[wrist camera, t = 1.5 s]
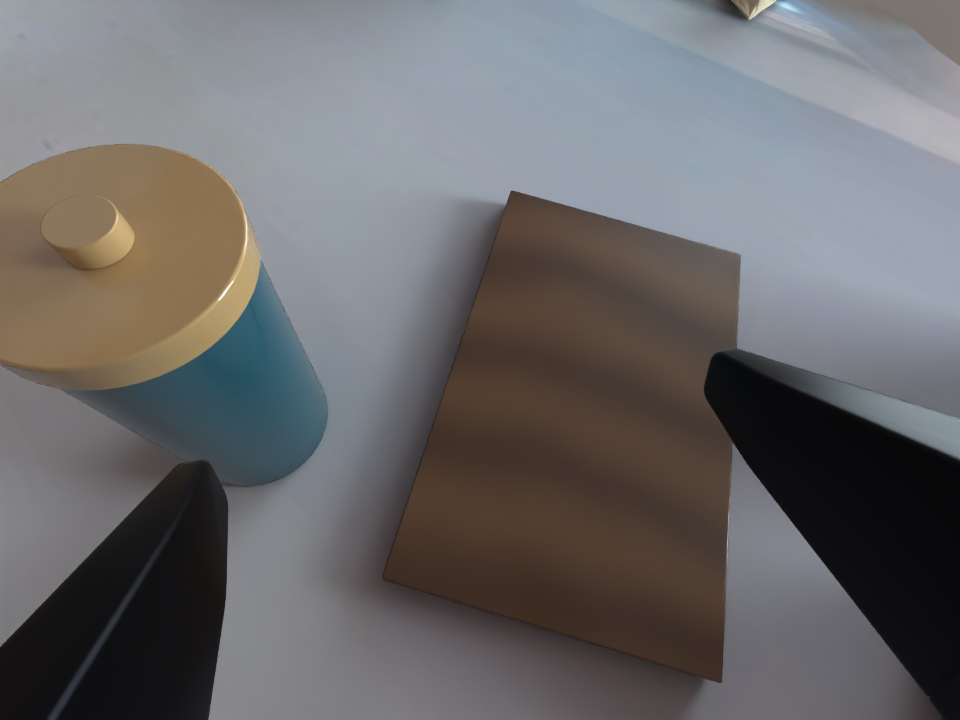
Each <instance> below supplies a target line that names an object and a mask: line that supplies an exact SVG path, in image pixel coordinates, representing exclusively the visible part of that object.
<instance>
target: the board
mask: <svg viewBox="0 0 960 720" xmlns="http://www.w3.org/2000/svg"><path fill="white" fill-rule="evenodd" d="M740 262H741V254H738V253H735V252H731V251H727V250H724V249H720V248H717V247H713V246H709V245H706V244H702V243H699V242H695V241H692V240H688V239H684V238H681V237H677V236H674V235H670V234H666V233H663V232H659V231H656V230H652V229H649V228H645V227H641V226H638V225H634V224H631V223H627V222H623V221H620V220H616V219H613V218H609V217H606V216H602V215H598V214H595V213H591V212H588V211H584V210H580V209H577V208H573V207H570V206H566V205H563V204H559V203H555V202H552V201H548V200H545V199H541V198H537V197H534V196H530V195H527V194H523V193H520V192H516V191H511V192H510V195H509V198H508V201H507V204H506V207H505V210H504V213H503V216H502V219H501V222H500V225H499V228H498V231H497V234H496V237H495V240H494V243H493V246H492V249H491V252H490V255H489V258H488V261H487V264H486V267H485V270H484V273H483V275H482V278H481V281H480V284H479V287H478V290H477V293H476V296H475V299H474V302H473V305H472V308H471V311H470V314H469V317H468V320H467V323H466V326H465V329H464V332H463V335H462V338H461V341H460V344H459V347H458V350H457V353H456V356H455V359H454V362H453V365H452V368H451V371H450V374H449V377H448V380H447V383H446V386H445V389H444V392H443V395H442V398H441V401H440V404H439V407H438V410H437V413H436V416H435V419H434V422H433V425H432V428H431V431H430V434H429V437H428V440H427V443H426V446H425V449H424V452H423V455H422V458H421V461H420V464H419V467H418V469H417V472H416V475H415V478H414V481H413V484H412V487H411V490H410V493H409V496H408V499H407V502H406V505H405V508H404V511H403V514H402V517H401V520H400V523H399V526H398V529H397V532H396V535H395V538H394V541H393V544H392V547H391V550H390V553H389V556H388V559H387V562H386V565H385V568H384V571H383V574H382V579H383V580H385V581H389V582H392V583H395V584H398V585H402V586H405V587H408V588H411V589H415V590H418V591H421V592H424V593H428V594H431V595H434V596H437V597H441V598H444V599H447V600H450V601H454V602H457V603H460V604H463V605H467V606H470V607H473V608H476V609H480V610H483V611H486V612H489V613H493V614H496V615H499V616H502V617H506V618H509V619H512V620H515V621H519V622H522V623H525V624H528V625H532V626H535V627H538V628H541V629H545V630H548V631H551V632H554V633H558V634H561V635H564V636H567V637H571V638H574V639H577V640H580V641H584V642H587V643H590V644H593V645H597V646H600V647H603V648H606V649H610V650H613V651H616V652H619V653H623V654H626V655H629V656H632V657H636V658H639V659H642V660H645V661H649V662H652V663H655V664H658V665H662V666H665V667H668V668H671V669H675V670H678V671H681V672H684V673H688V674H691V675H694V676H697V677H701V678H704V679H707V680H711V681H715V682H718V683H721V682H722V668H723V645H724V623H725V600H726V578H727V555H728V533H729V510H730V488H731V465H732V443H733V441H732V440H731V438H730V436H729V435H728V433H727V432H726V430H725V428H724V427H723V425H722V424H721V422H720V420H719V419H718V417H717V416H716V414H715V412H714V411H713V409H712V408H711V406H710V405H709V403H708V401H707V400H706V397H705V395H704V383H705V379H706V375H707V371H708V368H709V364H710V360H711V357H712V356H713V355H714V353H716V352H719V351H723V350H728V349H737V330H738V307H739V285H740Z"/></svg>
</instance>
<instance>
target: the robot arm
mask: <svg viewBox="0 0 960 720" xmlns="http://www.w3.org/2000/svg"><path fill="white" fill-rule="evenodd" d="M704 395H705V397H706V400H707V401H708V403H709V405H710V406H711V408H712V409H713V411H714V412H715V414H716V416H717V417H718V419H719V420H720V422H721V424H722V425H723V427H724V428H725V430H726V432H727V433H728V435H729V436H730V438H731V440H732V441H733V443H734V444H735V446H736V448H737V449H738V451H739V452H740V454H741V455H742V457H743V458H744V460H745V461H746V463H747V464H748V466H749V467H750V468H751V470H752V471H753V472H754V474H755V475H756V476H757V478H758V479H759V480H760V482H761V483H762V484H763V485H764V487H765V488H766V489H767V491H768V492H769V493H770V494H771V496H772V497H773V498H774V500H775V501H776V502H777V503H778V505H779V506H780V507H781V509H782V510H783V511H784V512H785V514H786V515H787V516H788V518H789V519H790V520H791V521H792V523H793V524H794V525H795V527H796V528H797V529H798V531H799V532H800V533H801V534H802V536H803V537H804V538H805V540H806V541H807V542H808V543H809V545H810V546H811V547H812V549H813V550H814V551H815V552H816V554H817V555H818V556H819V558H820V559H821V560H822V561H823V563H824V564H825V565H826V567H827V568H828V569H829V571H830V572H831V573H832V574H833V576H834V577H835V578H836V580H837V581H838V582H839V583H840V585H841V586H842V587H843V589H844V590H845V591H846V592H847V594H848V595H849V596H850V598H851V599H852V600H853V601H854V603H855V604H856V605H857V607H858V608H859V609H860V611H861V612H862V613H863V614H864V616H865V617H866V618H867V620H868V621H869V622H870V623H871V625H872V626H873V627H874V629H875V630H876V631H877V632H878V634H879V635H880V636H881V638H882V639H883V640H884V641H885V643H886V644H887V645H888V647H889V648H890V649H891V651H892V652H893V653H894V654H895V656H896V657H897V658H898V660H899V661H900V662H901V663H902V665H903V666H904V667H905V669H906V670H907V671H908V672H909V674H910V675H911V676H912V678H913V679H914V680H915V681H916V683H917V684H918V685H919V687H920V688H921V689H922V690H923V692H924V693H925V694H926V695H927V696H928V697H929V700H930V701H931V703H932V704H933V705H934V707H935V708H936V709H937V710H938V712H939V713H940V714H941V716H942V717H943V718H944V719H945V720H960V418H958V417H954V416H951V415H948V414H945V413H942V412H938V411H935V410H932V409H929V408H926V407H922V406H919V405H916V404H913V403H910V402H906V401H903V400H900V399H897V398H894V397H890V396H887V395H884V394H881V393H877V392H874V391H871V390H868V389H865V388H861V387H858V386H855V385H852V384H849V383H845V382H842V381H839V380H836V379H833V378H829V377H826V376H823V375H820V374H817V373H813V372H810V371H807V370H804V369H801V368H797V367H794V366H791V365H788V364H784V363H781V362H778V361H775V360H772V359H768V358H765V357H762V356H759V355H756V354H752V353H749V352H746V351H743V350H740V349H728V350H723V351H719V352H716V353H714V355H713V356H712V357H711V360H710V364H709V368H708V371H707V375H706V379H705V383H704ZM227 542H228V501H227V496H226V493H225V491H224V489H223V487H222V485H221V483H220V481H219V479H218V477H217V475H216V473H215V471H214V469H213V467H212V465H211V463H210V462H209V461H208V460H205V459H200V460H195V461H191V462H186V463H182V464H179V465H177V466H176V467H175V468H173V470H172V471H171V472H170V473H169V474H168V475H167V476H166V477H165V478H164V479H163V480H162V481H161V482H160V483H159V484H158V485H157V486H156V487H155V488H154V489H153V490H152V491H151V492H150V493H149V494H148V495H147V496H146V497H145V498H144V499H143V500H142V501H141V503H140V504H139V505H138V506H137V507H136V508H135V509H134V510H133V511H132V512H131V513H130V514H129V515H128V516H127V517H126V518H125V519H124V520H123V521H122V522H121V523H120V524H119V525H118V526H117V527H116V528H115V529H114V530H113V531H112V532H111V533H110V534H109V536H108V537H107V538H106V539H105V540H104V541H103V542H102V543H101V544H100V545H99V546H98V547H97V548H96V549H95V550H94V551H93V552H92V553H91V554H90V555H89V556H88V557H87V558H86V559H85V560H84V561H83V562H82V563H81V564H80V565H79V566H78V567H77V569H76V570H75V571H74V572H73V573H72V574H71V575H70V576H69V577H68V578H67V579H66V580H65V581H64V582H63V583H62V584H61V585H60V586H59V587H58V588H57V589H56V590H55V591H54V592H53V593H52V594H51V595H50V596H49V597H48V598H47V599H46V601H45V602H44V603H43V604H42V605H41V606H40V607H39V608H38V609H37V610H36V611H35V612H34V613H33V614H32V615H31V616H30V617H29V618H28V619H27V620H26V621H25V622H24V623H23V624H22V625H21V626H20V627H19V628H18V629H17V630H16V631H15V632H14V634H13V635H12V636H11V637H10V638H9V639H8V640H7V641H6V642H5V643H4V644H3V645H2V646H1V647H0V720H208V718H209V712H210V705H211V698H212V691H213V684H214V678H215V671H216V664H217V657H218V651H219V644H220V637H221V630H222V623H223V617H224V609H225V600H226V584H227Z"/></svg>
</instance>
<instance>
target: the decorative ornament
mask: <svg viewBox="0 0 960 720" xmlns="http://www.w3.org/2000/svg"><path fill="white" fill-rule="evenodd" d="M731 1H732V2H733V3H734V4H735V5H736V6H737V7H738V8H739V10H740V11H741V12H742V13H743V14H744V15H745V16H746V18H747V19H748V20H750V19H752V18H753V17H754V16H756V15H757V14H758V13H760V12H761V11H763V10H764V9H765V8H767V7H768V6H770V5H771V4H773V3H774V2H776V1H778V0H731Z"/></svg>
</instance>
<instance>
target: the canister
mask: <svg viewBox="0 0 960 720" xmlns="http://www.w3.org/2000/svg"><path fill="white" fill-rule="evenodd" d="M0 366H2V367H3V368H5V369H7V370H9V371H10V372H12V373H14V374H16V375H18V376H19V377H21V378H24V379H26V380H29V381H32V382H34V383H37V384H40V385H44V386H49V387H53V388H57V389H60V390H62V391H64V392H65V393H67V394H69V395H70V396H72V397H74V398H76V399H77V400H79V401H81V402H82V403H84V404H86V405H87V406H89V407H91V408H93V409H94V410H96V411H98V412H99V413H101V414H103V415H105V416H106V417H108V418H110V419H111V420H113V421H115V422H117V423H118V424H120V425H122V426H123V427H125V428H127V429H128V430H130V431H132V432H134V433H135V434H137V435H139V436H140V437H142V438H144V439H146V440H147V441H149V442H151V443H152V444H154V445H156V446H158V447H159V448H161V449H163V450H164V451H166V452H168V453H170V454H171V455H173V456H175V457H176V458H178V459H180V460H181V461H183V462H185V463H186V462H191V461H195V460H200V459H205V460H208V461H209V462H210V463H211V465H212V467H213V469H214V471H215V473H216V475H217V477H218V479H219V481H220V482H221V483H224V484H228V485H233V486H257V485H263V484H266V483H270V482H273V481H275V480H278V479H280V478H282V477H284V476H286V475H288V474H290V473H291V472H293V471H294V470H295V469H297V468H298V467H300V466H301V465H302V464H303V463H304V462H305V461H306V460H307V459H308V458H309V457H310V456H311V454H312V453H313V452H314V450H315V449H316V447H317V446H318V444H319V442H320V440H321V439H322V436H323V434H324V431H325V428H326V423H327V416H328V407H327V400H326V396H325V393H324V390H323V388H322V386H321V384H320V382H319V380H318V378H317V375H316V373H315V371H314V369H313V367H312V365H311V363H310V361H309V359H308V357H307V355H306V353H305V350H304V348H303V346H302V344H301V342H300V340H299V338H298V336H297V334H296V332H295V330H294V328H293V325H292V323H291V321H290V319H289V317H288V315H287V313H286V311H285V309H284V307H283V305H282V303H281V300H280V298H279V296H278V294H277V292H276V290H275V288H274V286H273V284H272V282H271V280H270V278H269V276H268V273H267V271H266V269H265V267H264V265H263V263H262V261H261V259H260V248H259V242H258V238H257V235H256V232H255V230H254V227H253V225H252V223H251V221H250V218H249V216H248V214H247V212H246V210H245V207H244V205H243V203H242V201H241V199H240V198H239V196H238V194H237V192H236V191H235V189H234V188H233V187H232V186H231V185H230V183H229V182H228V181H227V180H226V179H225V178H224V177H223V176H221V175H220V174H219V173H218V172H217V171H216V170H214V169H213V168H211V167H210V166H208V165H207V164H205V163H204V162H202V161H200V160H198V159H196V158H194V157H191V156H189V155H187V154H184V153H181V152H178V151H175V150H171V149H166V148H162V147H157V146H149V145H139V144H114V145H102V146H95V147H88V148H83V149H78V150H74V151H69V152H66V153H63V154H60V155H56V156H53V157H50V158H48V159H45V160H42V161H40V162H37V163H35V164H33V165H31V166H29V167H26V168H24V169H22V170H20V171H18V172H16V173H15V174H13V175H11V176H10V177H8V178H6V179H5V180H3V181H2V182H0Z"/></svg>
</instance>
